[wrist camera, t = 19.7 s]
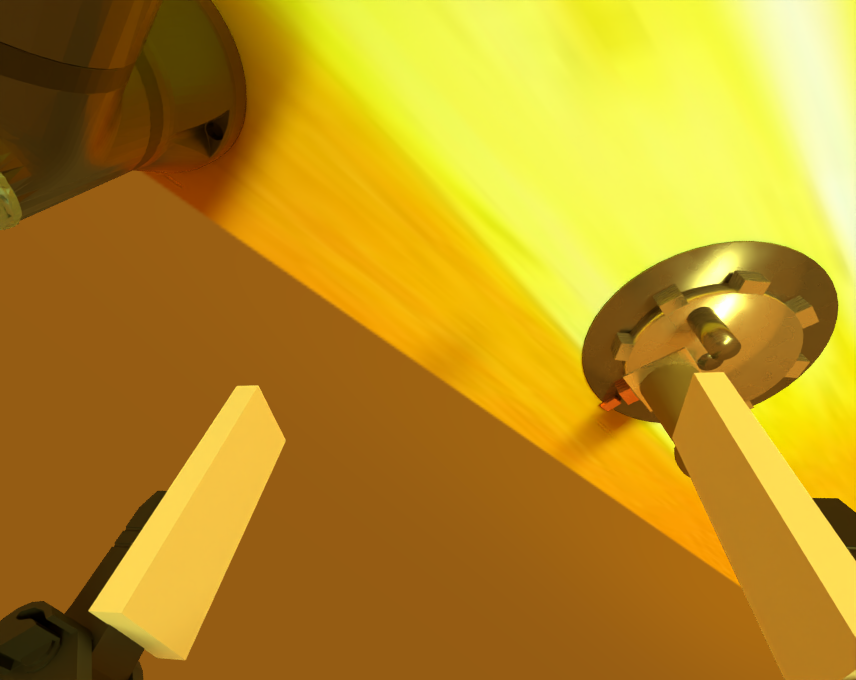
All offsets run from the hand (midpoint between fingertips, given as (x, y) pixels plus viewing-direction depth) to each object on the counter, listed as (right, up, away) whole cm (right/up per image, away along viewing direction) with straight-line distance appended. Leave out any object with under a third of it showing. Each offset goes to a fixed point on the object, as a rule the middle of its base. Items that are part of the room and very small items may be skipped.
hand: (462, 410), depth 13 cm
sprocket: (+28, +2, +32) cm, 42 cm away
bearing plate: (+28, +2, +32) cm, 42 cm away
